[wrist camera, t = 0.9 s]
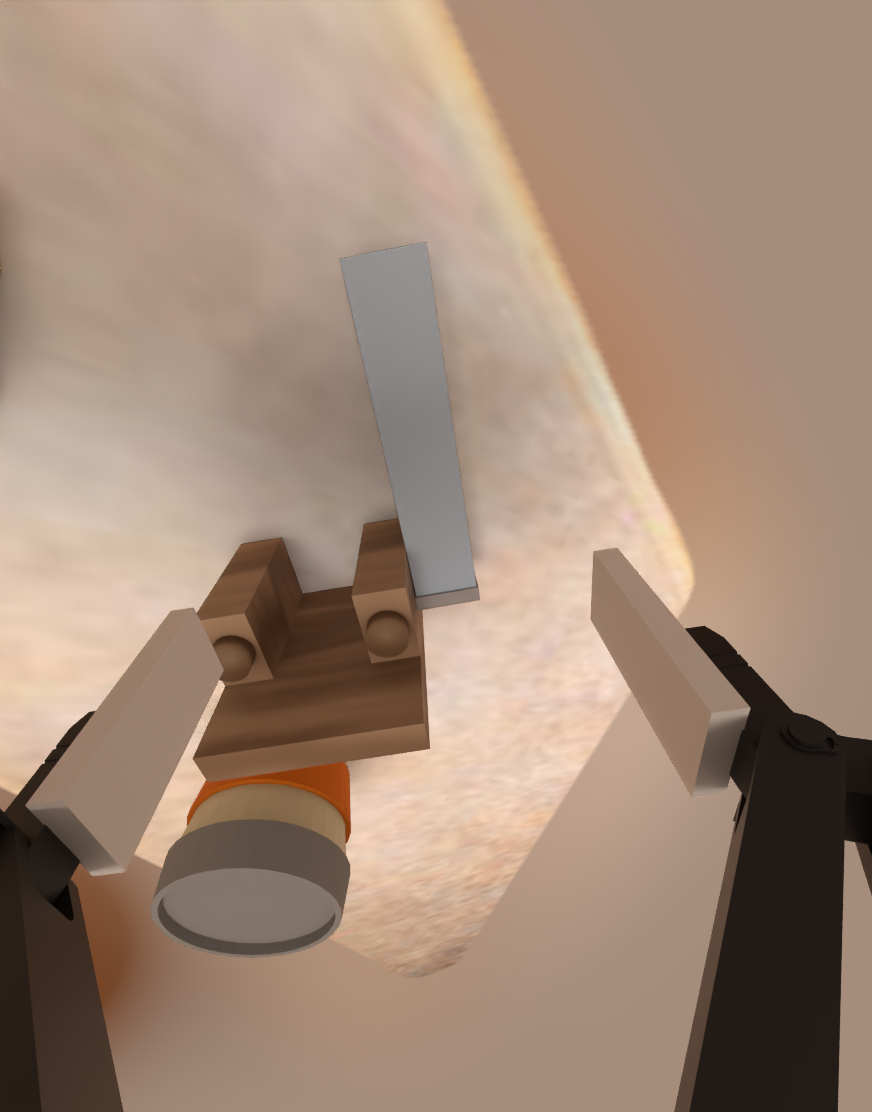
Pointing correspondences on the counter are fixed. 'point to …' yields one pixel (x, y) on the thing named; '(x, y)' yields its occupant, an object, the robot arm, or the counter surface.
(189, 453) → the counter surface
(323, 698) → the wooden bracket with knobs
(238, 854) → the reusable coffee cup
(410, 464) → the rail
